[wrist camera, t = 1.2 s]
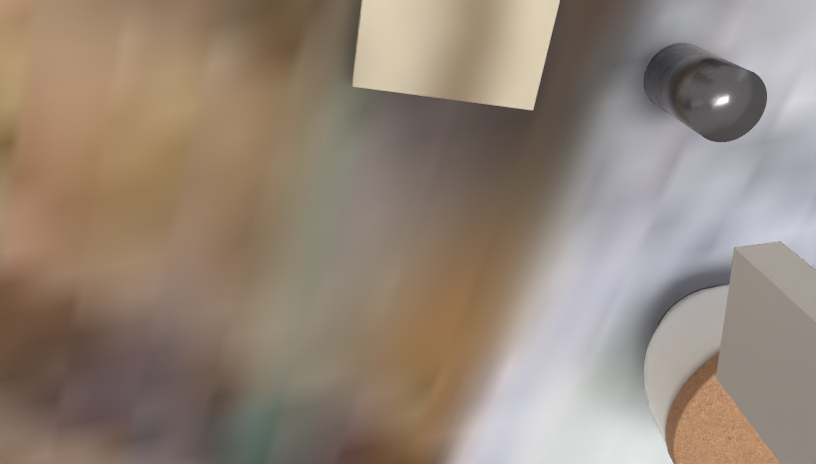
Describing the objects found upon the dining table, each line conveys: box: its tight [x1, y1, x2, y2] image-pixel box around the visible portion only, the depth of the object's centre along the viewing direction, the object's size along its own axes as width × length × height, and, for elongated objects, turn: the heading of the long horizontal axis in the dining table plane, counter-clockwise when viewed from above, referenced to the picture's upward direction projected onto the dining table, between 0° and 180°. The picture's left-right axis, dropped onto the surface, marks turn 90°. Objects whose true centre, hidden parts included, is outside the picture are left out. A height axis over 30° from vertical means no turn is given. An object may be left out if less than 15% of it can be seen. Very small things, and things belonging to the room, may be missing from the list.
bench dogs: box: [644, 44, 767, 142], centre depth 27 cm, size 3×9×5 cm, turn 171°
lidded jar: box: [644, 285, 781, 464], centre depth 34 cm, size 11×11×9 cm
